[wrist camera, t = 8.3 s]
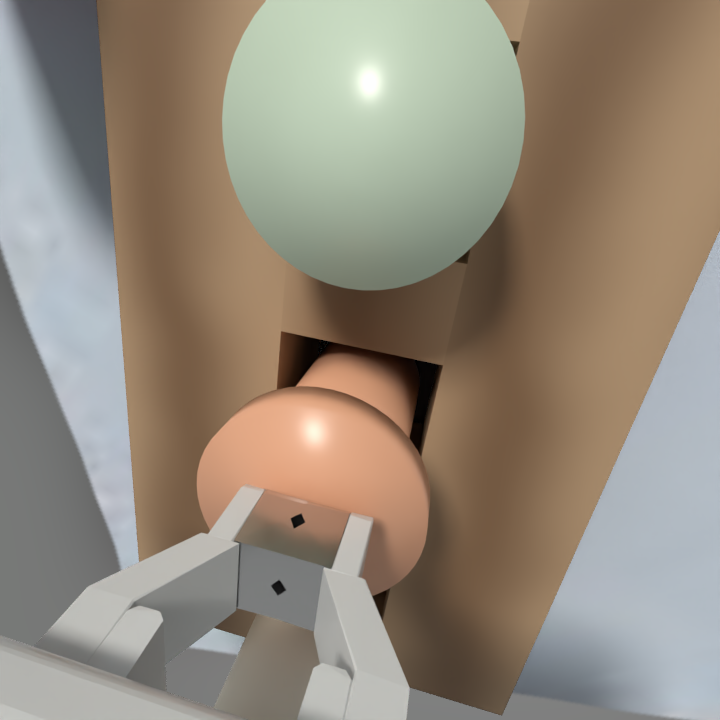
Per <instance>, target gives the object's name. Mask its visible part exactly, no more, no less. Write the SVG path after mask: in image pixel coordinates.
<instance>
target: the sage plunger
mask: <svg viewBox="0 0 720 720" xmlns="http://www.w3.org/2000/svg"><path fill="white" fill-rule="evenodd" d="M524 127H525V104H524V91H523V85H522V80H521V74H520V69H519V66H518V63H517V59H516V56H515V53H514V50H513V47H512V44H511V42H510V40H509V38H508V36H507V34H506V32H505V30H504V28H503V26H502V24H501V22H500V21H499V19H498V18H497V16H496V15H495V13H494V12H493V10H492V9H491V7H490V6H489V4H488V3H487V2H486V1H485V0H266V1H265V3H264V4H263V5H262V6H261V8H260V9H259V10H258V11H257V13H256V14H255V15H254V17H253V19H252V20H251V22H250V24H249V25H248V27H247V29H246V30H245V32H244V34H243V36H242V38H241V40H240V43H239V45H238V47H237V49H236V52H235V54H234V57H233V60H232V63H231V67H230V70H229V73H228V77H227V82H226V87H225V93H224V99H223V113H222V131H223V145H224V151H225V158H226V163H227V167H228V171H229V175H230V178H231V182H232V184H233V187H234V190H235V192H236V195H237V197H238V200H239V202H240V204H241V206H242V207H243V209H244V211H245V213H246V215H247V217H248V218H249V220H250V221H251V223H252V224H253V226H254V227H255V229H256V230H257V232H258V233H259V234H260V235H261V237H262V238H263V239H264V240H265V241H266V243H267V244H268V245H269V246H270V247H271V248H272V249H273V250H274V251H275V252H276V253H277V254H279V255H280V256H281V257H282V258H283V259H284V260H286V261H287V262H288V263H290V264H291V265H292V266H294V267H295V268H297V269H298V270H300V271H302V272H304V273H305V274H307V275H309V276H311V277H313V278H315V279H318V280H320V281H323V282H325V283H328V284H331V285H335V286H339V287H343V288H348V289H356V290H385V289H393V288H399V287H402V286H406V285H410V284H413V283H416V282H419V281H421V280H423V279H426V278H428V277H431V276H433V275H434V274H436V273H438V272H440V271H441V270H443V269H445V268H447V267H448V266H450V265H451V264H452V263H454V262H455V261H456V260H458V259H459V258H460V257H461V256H463V255H464V254H465V253H466V252H467V251H468V250H469V249H470V248H471V247H472V246H473V245H474V244H475V243H476V242H477V241H478V240H479V239H480V238H481V237H482V235H483V234H484V233H485V232H486V230H487V229H488V228H489V227H490V225H491V224H492V222H493V221H494V219H495V217H496V216H497V214H498V213H499V211H500V209H501V208H502V206H503V204H504V202H505V200H506V198H507V195H508V193H509V191H510V189H511V187H512V184H513V181H514V178H515V175H516V172H517V169H518V166H519V161H520V156H521V151H522V146H523V140H524Z"/></svg>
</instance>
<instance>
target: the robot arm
mask: <svg viewBox="0 0 720 720" xmlns="http://www.w3.org/2000/svg"><path fill="white" fill-rule="evenodd" d="M373 521H374V519H373V517H369V516H365V515H361V514H357V513H353V512H352V513H351V512H348V511H344V510H340V509H336V508H332V507H328V506H325V505H321V504H317V503H313V502H308V501H305V500H302V499H298V498H295V497H291V496H288V495H285V494H281V493H278V492H274V491H271V490H268V489H267V490H265V489H262V488H259V487H256V486H252V485H249V484H245V485H244V486H242V487H241V488H240V489H239V491H238V492H237V494H236V495H235V496H234V498H233V499H232V501H231V502H230V504H229V505H228V506H227V508H226V509H225V511H224V512H223V513H222V515H221V516H220V518H219V519H218V521H217V522H216V523H215V525H214V526H213V528H212V529H211V530H210V532H209V533H208V534H205V533H199V534H197V535H195V536H193V537H191V538H189V539H187V540H185V541H183V542H181V543H178V544H176V545H174V546H172V547H170V548H168V549H166V550H164V551H162V552H160V553H157V554H155V555H153V556H151V557H149V558H147V559H145V560H143V561H141V562H138V563H136V564H134V565H132V566H130V567H128V568H126V569H124V570H122V571H120V572H117V573H115V574H113V575H111V576H109V577H107V578H105V579H103V580H101V581H99V582H97V583H94V584H92V585H90V586H88V587H87V588H86V589H85V590H84V592H83V593H82V594H81V595H80V596H79V597H78V598H77V599H76V600H75V602H74V603H73V604H72V605H71V606H70V607H69V608H68V609H67V610H66V612H65V613H64V614H63V615H62V616H61V617H60V618H59V619H58V620H57V621H56V622H55V624H54V625H53V626H52V627H51V628H50V629H49V630H48V631H47V632H46V634H45V635H44V636H43V637H42V638H41V639H40V640H39V641H38V642H37V643H36V645H35V646H34V647H32V646H29V645H27V644H24V643H21V642H18V641H15V640H12V639H9V638H6V637H3V636H0V720H248V719H245V718H242V717H239V716H237V715H234V714H231V713H228V712H225V711H222V710H219V709H216V708H213V707H210V706H207V705H204V704H201V703H198V702H195V701H192V700H189V699H186V698H183V697H180V696H177V695H174V694H171V693H168V692H167V691H166V690H167V689H166V668H165V665H166V664H167V663H168V662H170V661H171V660H172V659H174V658H175V657H176V656H177V655H179V654H180V653H182V652H183V651H184V650H186V649H187V648H188V647H189V646H191V645H192V644H193V643H195V642H196V641H197V640H199V639H200V638H201V637H202V636H204V635H205V634H206V633H208V632H209V631H210V630H212V629H213V628H214V627H216V626H217V625H218V624H219V623H221V622H222V621H223V620H225V619H226V618H227V617H229V616H230V615H231V614H232V613H234V612H235V611H236V608H238V609H242V610H246V611H249V612H253V613H257V614H260V615H264V616H268V617H271V618H275V619H278V620H281V621H284V622H287V623H290V624H293V625H296V626H299V627H302V628H305V629H308V630H311V631H314V638H315V642H316V647H317V652H318V657H319V662H320V665H318V666H316V667H314V668H313V671H312V674H311V677H310V680H309V684H308V687H307V690H306V693H305V696H304V699H303V702H302V705H301V708H300V711H299V715H298V718H297V720H406V719H407V710H408V700H409V692H410V688H409V685H408V683H407V680H406V678H405V675H404V673H403V670H402V668H401V666H400V663H399V661H398V658H397V656H396V653H395V651H394V648H393V646H392V643H391V641H390V639H389V636H388V634H387V631H386V629H385V626H384V624H383V621H382V619H381V616H380V614H379V612H378V609H377V607H376V604H375V602H374V599H373V597H372V594H371V592H370V590H369V587H368V585H367V582H366V580H365V579H363V578H362V574H363V570H364V565H365V560H366V555H367V551H368V546H369V541H370V536H371V531H372V527H373Z"/></svg>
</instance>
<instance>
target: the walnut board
mask: <svg viewBox="0 0 720 720" xmlns="http://www.w3.org/2000/svg"><path fill="white" fill-rule="evenodd" d="M265 1H266V0H96V3H97V16H98V29H99V42H100V55H101V68H102V81H103V94H104V108H105V121H106V134H107V147H108V160H109V173H110V186H111V200H112V213H113V226H114V239H115V252H116V265H117V278H118V291H119V305H120V318H121V331H122V344H123V357H124V370H125V383H126V396H127V410H128V423H129V436H130V449H131V462H132V475H133V488H134V502H135V515H136V528H137V541H138V554H139V562H141V561H143V560H145V559H147V558H149V557H151V556H153V555H155V554H157V553H160V552H162V551H164V550H166V549H168V548H170V547H172V546H174V545H176V544H178V543H181V542H183V541H185V540H187V539H189V538H191V537H193V536H195V535H197V534H199V533H205V534H208V533H209V532H210V529H209V527H208V525H207V523H206V521H205V519H204V517H203V514H202V511H201V508H200V504H199V500H198V495H197V471H198V467H199V463H200V459H201V457H202V455H203V452H204V450H205V448H206V447H207V445H208V444H209V442H210V440H211V439H212V438H213V437H214V436H215V435H216V434H217V432H218V431H219V430H220V429H221V428H222V427H223V426H224V425H225V424H226V423H227V422H228V421H229V419H230V418H231V417H232V416H233V415H234V414H235V413H236V412H237V411H238V410H239V409H240V408H241V407H242V406H244V405H245V404H246V403H248V402H249V401H251V400H252V399H254V398H256V397H258V396H260V395H262V394H265V393H267V392H270V391H273V390H277V389H282V388H286V387H296V385H297V384H298V383H299V381H300V380H301V379H302V377H303V376H304V375H305V373H306V372H307V371H308V370H309V368H310V367H311V366H312V364H313V363H314V362H315V360H316V359H317V358H318V349H319V340H320V339H321V340H325V341H330V342H335V343H340V344H344V345H349V346H354V347H358V348H363V349H368V350H373V351H377V352H382V353H387V354H392V355H396V356H401V357H406V358H410V359H415V360H420V361H425V362H429V363H434V364H437V366H436V371H435V375H434V379H433V384H432V388H431V392H430V397H429V401H428V405H427V410H426V414H425V418H424V423H423V424H421V423H416V422H413V423H412V428H411V433H410V440H411V441H412V443H413V444H414V446H415V447H416V449H417V450H418V452H419V454H420V456H421V458H422V461H423V463H424V465H425V468H426V471H427V475H428V479H429V485H430V508H429V518H428V528H427V535H426V541H425V545H424V548H423V551H422V553H421V556H420V558H419V559H418V561H417V563H416V565H415V566H414V567H413V568H412V570H411V571H410V572H409V573H408V575H406V576H405V577H404V578H403V579H402V580H401V581H400V582H398V583H397V584H395V585H394V586H392V587H391V588H389V589H388V590H385V591H383V592H381V593H379V594H376V595H373V596H372V597H373V599H374V602H375V604H376V607H377V609H378V612H379V614H380V616H381V619H382V621H383V624H384V626H385V629H386V631H387V634H388V636H389V639H390V641H391V643H392V646H393V648H394V651H395V653H396V656H397V658H398V661H399V663H400V666H401V668H402V670H403V673H404V675H405V678H406V680H407V683H408V685H409V687H410V688H413V689H417V690H420V691H423V692H426V693H430V694H433V695H436V696H440V697H443V698H446V699H450V700H453V701H456V702H459V703H463V704H466V705H469V706H472V707H476V708H479V709H482V710H485V711H489V712H492V713H495V714H499V715H502V714H503V712H504V710H505V707H506V705H507V703H508V701H509V698H510V696H511V694H512V692H513V689H514V687H515V685H516V683H517V681H518V678H519V676H520V674H521V672H522V669H523V667H524V665H525V663H526V661H527V658H528V656H529V654H530V652H531V649H532V647H533V645H534V643H535V640H536V638H537V636H538V634H539V632H540V629H541V627H542V625H543V623H544V620H545V618H546V616H547V614H548V612H549V609H550V607H551V605H552V603H553V600H554V598H555V596H556V594H557V591H558V589H559V587H560V585H561V583H562V580H563V578H564V576H565V574H566V571H567V569H568V567H569V565H570V563H571V560H572V558H573V556H574V554H575V551H576V549H577V547H578V545H579V542H580V540H581V538H582V536H583V534H584V531H585V529H586V527H587V525H588V522H589V520H590V518H591V516H592V514H593V511H594V509H595V507H596V505H597V502H598V500H599V498H600V496H601V493H602V491H603V489H604V487H605V485H606V482H607V480H608V478H609V476H610V473H611V471H612V469H613V467H614V465H615V462H616V460H617V458H618V456H619V453H620V451H621V449H622V447H623V444H624V442H625V440H626V438H627V436H628V433H629V431H630V429H631V427H632V424H633V422H634V420H635V418H636V416H637V413H638V411H639V409H640V407H641V404H642V402H643V400H644V398H645V395H646V393H647V391H648V389H649V387H650V384H651V382H652V380H653V378H654V375H655V373H656V371H657V369H658V366H659V364H660V362H661V360H662V358H663V355H664V353H665V351H666V349H667V346H668V344H669V342H670V340H671V338H672V335H673V333H674V331H675V329H676V326H677V324H678V322H679V320H680V317H681V315H682V313H683V311H684V309H685V306H686V304H687V302H688V300H689V297H690V295H691V293H692V291H693V289H694V286H695V284H696V282H697V280H698V277H699V275H700V273H701V271H702V268H703V266H704V264H705V262H706V260H707V257H708V255H709V253H710V251H711V248H712V246H713V244H714V242H715V240H716V237H717V235H718V233H719V231H720V0H485V1H486V2H487V3H488V4H489V6H490V7H491V9H492V10H493V12H494V13H495V15H496V16H497V18H498V19H499V21H500V22H501V24H502V26H503V28H504V30H505V32H506V34H507V36H508V38H509V40H510V42H511V44H512V47H513V50H514V53H515V56H516V59H517V63H518V66H519V69H520V74H521V80H522V85H523V91H524V104H525V127H524V140H523V146H522V151H521V156H520V161H519V166H518V169H517V172H516V175H515V178H514V181H513V184H512V187H511V189H510V191H509V193H508V195H507V198H506V200H505V202H504V204H503V206H502V208H501V209H500V211H499V213H498V214H497V216H496V217H495V219H494V221H493V222H492V224H491V225H490V227H489V228H488V229H487V230H486V232H485V233H484V234H483V235H482V237H481V238H480V239H479V240H478V241H477V242H476V243H475V244H474V245H473V246H472V247H471V248H470V249H469V250H468V251H467V252H466V253H465V254H464V255H463V256H461V257H460V258H459V259H458V260H456V261H455V262H454V263H452V264H451V265H450V266H448V267H447V268H445V269H443V270H441V271H440V272H438V273H436V274H434V275H433V276H431V277H428V278H426V279H423V280H421V281H419V282H416V283H413V284H410V285H406V286H402V287H399V288H393V289H385V290H356V289H348V288H343V287H339V286H335V285H331V284H328V283H325V282H323V281H320V280H318V279H315V278H313V277H311V276H309V275H307V274H305V273H304V272H302V271H300V270H298V269H297V268H295V267H294V266H292V265H291V264H290V263H288V262H287V261H286V260H284V259H283V258H282V257H281V256H280V255H279V254H277V253H276V252H275V251H274V250H273V249H272V248H271V247H270V246H269V245H268V244H267V243H266V241H265V240H264V239H263V238H262V237H261V235H260V234H259V233H258V232H257V230H256V229H255V227H254V226H253V224H252V223H251V221H250V220H249V218H248V217H247V215H246V213H245V211H244V209H243V207H242V206H241V204H240V202H239V200H238V197H237V195H236V192H235V190H234V187H233V184H232V182H231V178H230V175H229V171H228V167H227V163H226V158H225V151H224V145H223V131H222V113H223V99H224V93H225V87H226V82H227V77H228V73H229V70H230V67H231V63H232V60H233V57H234V54H235V52H236V49H237V47H238V45H239V43H240V40H241V38H242V36H243V34H244V32H245V30H246V29H247V27H248V25H249V24H250V22H251V20H252V19H253V17H254V15H255V14H256V13H257V11H258V10H259V9H260V8H261V6H262V5H263V4H264V3H265ZM256 614H257V613H253V612H249V611H246V610H242V609H238V608H236V611H235V612H234V613H232V614H231V615H230V616H229V617H227V618H226V619H225V620H223V621H222V622H221V623H219V624H218V625H217V626H216V627H214V628H216V629H220V630H223V631H226V632H229V633H233V634H236V635H239V636H243V637H246V636H247V634H248V632H249V629H250V627H251V625H252V623H253V621H254V619H255V616H256Z"/></svg>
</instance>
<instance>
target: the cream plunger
mask: <svg viewBox="0 0 720 720" xmlns="http://www.w3.org/2000/svg"><path fill="white" fill-rule="evenodd" d="M318 665H320V662H319V657H318V652H317V647H316V642H315V638H314V631H311V630H308V629H305V628H302V627H299V626H296V625H293V624H290V623H287V622H284V621H281V620H278V619H275V618H271V617H268V616H264V615H260V614H256V616H255V619H254V621H253V623H252V625H251V627H250V629H249V632H248V634H247V636H246V638H245V640H244V642H243V645H242V647H241V649H240V651H239V653H238V655H237V658H236V660H235V662H234V664H233V666H232V668H231V671H230V673H229V675H228V677H227V679H226V681H225V684H224V686H223V688H222V690H221V692H220V695H219V696H218V699H217V701H216V704H215V705H214V707H213V708H216V709H219V710H222V711H225V712H228V713H231V714H234V715H237V716H239V717H242V718H245V719H248V720H297V718H298V715H299V711H300V708H301V705H302V702H303V699H304V696H305V693H306V690H307V687H308V684H309V680H310V677H311V674H312V671H313V668H314V667H316V666H318Z"/></svg>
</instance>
